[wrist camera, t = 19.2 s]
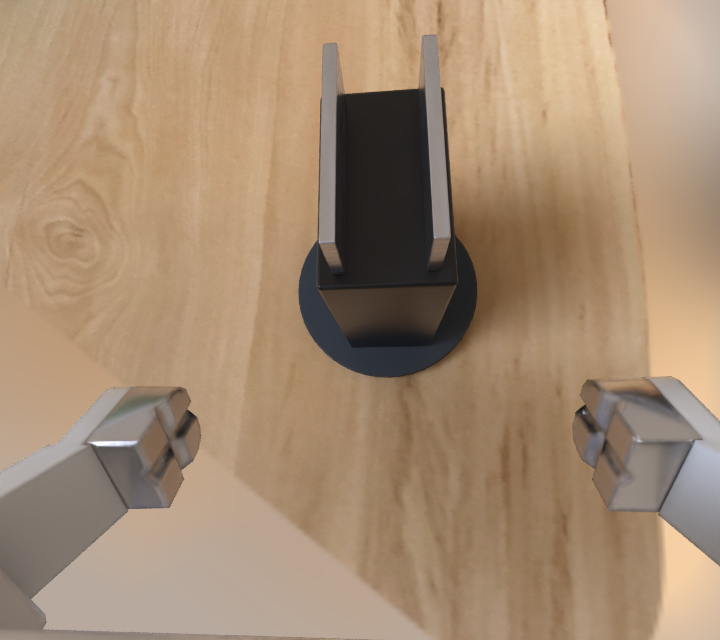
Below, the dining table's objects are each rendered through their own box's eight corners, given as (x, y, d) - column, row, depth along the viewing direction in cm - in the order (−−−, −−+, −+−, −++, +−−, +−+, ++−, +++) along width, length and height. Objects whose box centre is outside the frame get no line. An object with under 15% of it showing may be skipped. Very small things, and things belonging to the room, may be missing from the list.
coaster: (470, 387, 15) (473, 386, 15) (288, 367, 16) (285, 365, 15) (478, 217, 17) (481, 211, 16) (313, 207, 18) (311, 201, 17)
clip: (430, 346, 15) (473, 252, 7) (350, 348, 15) (298, 259, 7) (424, 224, 16) (454, 20, 8) (350, 227, 17) (305, 32, 8)
